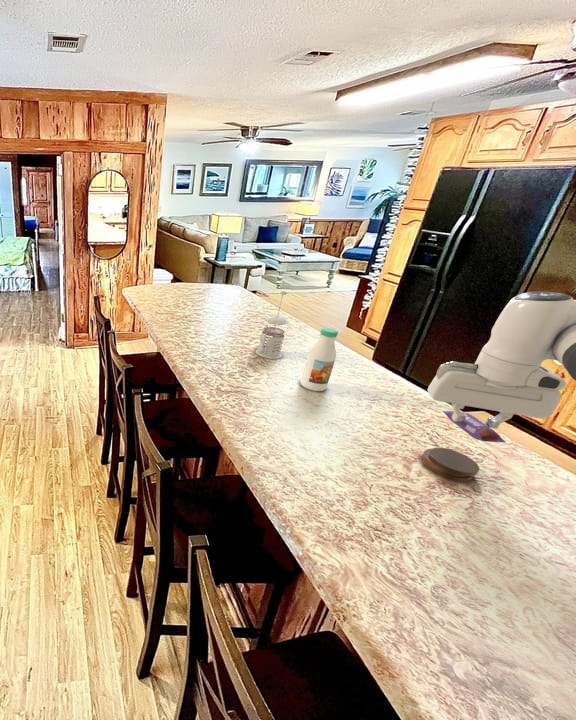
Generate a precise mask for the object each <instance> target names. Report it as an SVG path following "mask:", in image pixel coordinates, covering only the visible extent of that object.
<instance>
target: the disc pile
mask: <svg viewBox="0 0 576 720" xmlns="http://www.w3.org/2000/svg"><path fill="white" fill-rule="evenodd" d="M422 461H423V464H424V466H425V467H426V468H428V469H429V470H430V472H433V473H434V474H436V475H438V476H440V477H442V478H444V479H447V480H450V481H453V482H458V483H459V482H461V483H466V482H469V481H471V479H472V478H473V476H477V474H478V473H479V471H480V466H479V465H478V464H477V462H476V461H474V460H473V459H472V458H470V457H469V456H467V455H466V454H464V453H461V452H459V451H457V450H454V449H450V448H446V447H432V448H427V449H425V450H424V451H423V453H422Z"/></svg>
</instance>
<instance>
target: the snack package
mask: <svg viewBox="0 0 576 720" xmlns="http://www.w3.org/2000/svg"><path fill="white" fill-rule="evenodd" d="M441 412H442V413H443V414H445V415H446V417H447V418H448V419H449V420H450V421H451V422H452V423H453V424H455V426H458V427H459V428H460V429H462V430H463V431H464V432H465V433H467V434H468V436H471V438H473V439H475V440H478V441H481V442H487V443H488V442H489V443H507V442H506V441H505V440H504V439H503V438H502V437H501V435H500V434H499V433H497V432H496V431H495V430H494V429H493V428H490V427H488V426H487V425H486V424H485V423H484V422H482V421H481V420H479V419H478V418H477V417H475V416H473V415H472V414H471V413H468V412H464V411H461V412H462V413H463V415H465V416H466V417H465V419H463V422H457V421H453V419H452V415H453V413H454V410H452V411H450V410H449V411H448V410H441Z"/></svg>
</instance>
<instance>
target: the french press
mask: <svg viewBox="0 0 576 720" xmlns="http://www.w3.org/2000/svg"><path fill="white" fill-rule="evenodd" d="M279 294H280V295H282V296H281V299H280V303H279V307H278V313H277V315H269V316H266V317H265V318H264V321H265V322H266V323H268V324H270V325H274V327H273V326H269V325H265V326H264V328H263V329H262V330H261V333H260V342H259V347H258V348H257V349H256V350H255V353H256V355H258V356H260V357H262V358H265V359H270V360H278V359H282V357H283V354H282V352H281V350H282V346H283V342H284V339H285V330H284V329H282V328H279V327H276V326H285V325H287V324H289V321H288V319H287V318H285V317H284V316H281V315H279V313H280V309H281V305H282V301H283V297H284V296H286V294H287V292H286V291H285V290H282V291H280V292H279Z"/></svg>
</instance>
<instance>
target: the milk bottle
mask: <svg viewBox="0 0 576 720" xmlns="http://www.w3.org/2000/svg"><path fill="white" fill-rule="evenodd" d="M338 334H339V331H338V330H337V329H335V328H331V327H322V328H321V329H320V332H319V338H318V340H316V342H315V343H314V344H313V345H312V346H311V348H310V349H309V351H308V355H307V358H306V361H305V364H304V367H303V371H302V375H301V378H300V385H301V386H302V387H304V388H305V389H307V390H310V391H314V392H323V391H325V390H326V389H327V387H328V383H329V381H330V378H331V375H332V372H333V370H334V369H333V368H334V365H335V361H336V358H337V350H336V349H337V348H336V345H335V343H336V342H335V341H336V339H337V336H338Z"/></svg>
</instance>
